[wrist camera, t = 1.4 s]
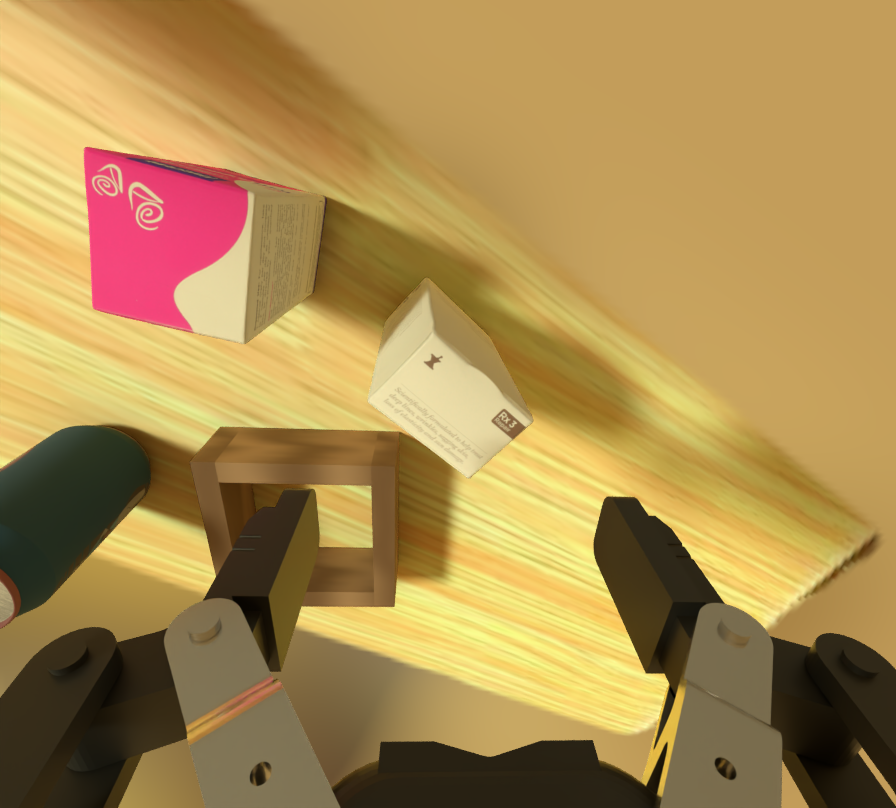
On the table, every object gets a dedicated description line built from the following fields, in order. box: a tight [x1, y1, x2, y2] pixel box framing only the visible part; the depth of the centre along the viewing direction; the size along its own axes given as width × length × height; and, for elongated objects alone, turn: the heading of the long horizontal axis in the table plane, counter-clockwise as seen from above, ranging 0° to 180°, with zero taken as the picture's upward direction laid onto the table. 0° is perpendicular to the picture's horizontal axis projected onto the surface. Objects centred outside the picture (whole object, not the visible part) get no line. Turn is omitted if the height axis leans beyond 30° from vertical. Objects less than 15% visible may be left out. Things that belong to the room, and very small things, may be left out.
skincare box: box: [368, 277, 533, 478], centre depth 24 cm, size 6×4×12 cm
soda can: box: [0, 426, 151, 629], centre depth 27 cm, size 7×7×12 cm
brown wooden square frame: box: [190, 427, 399, 607], centre depth 33 cm, size 13×13×4 cm
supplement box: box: [84, 147, 327, 344], centre depth 21 cm, size 6×6×12 cm
